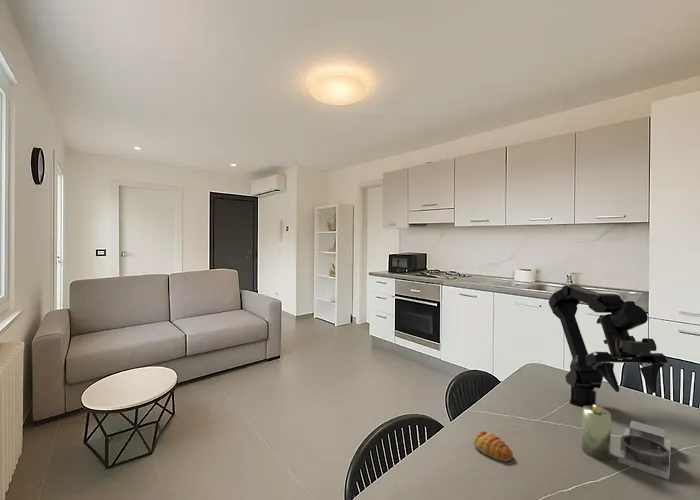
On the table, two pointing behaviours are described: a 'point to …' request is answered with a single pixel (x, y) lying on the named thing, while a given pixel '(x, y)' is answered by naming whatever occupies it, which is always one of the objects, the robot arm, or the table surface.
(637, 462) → the grey piece
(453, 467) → the table surface
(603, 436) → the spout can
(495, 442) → the pastry
